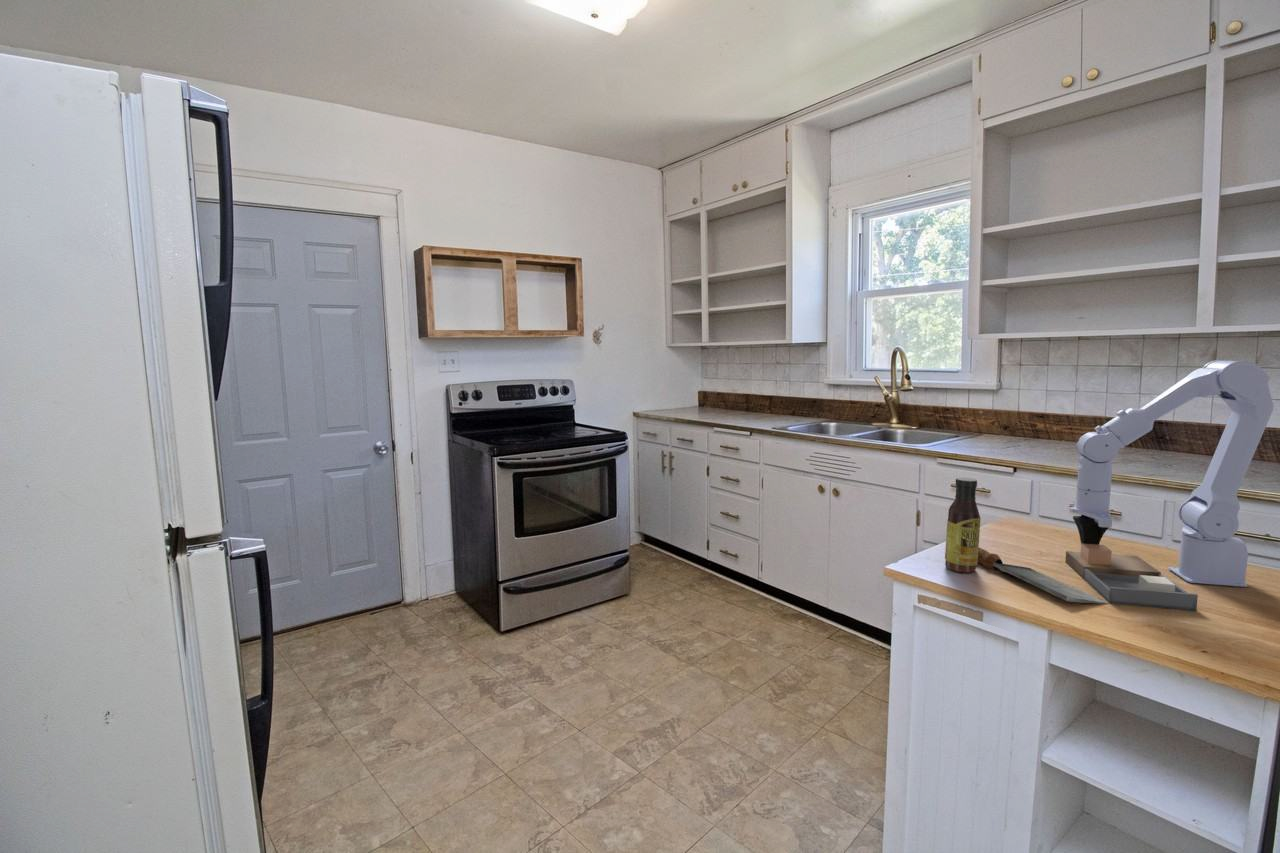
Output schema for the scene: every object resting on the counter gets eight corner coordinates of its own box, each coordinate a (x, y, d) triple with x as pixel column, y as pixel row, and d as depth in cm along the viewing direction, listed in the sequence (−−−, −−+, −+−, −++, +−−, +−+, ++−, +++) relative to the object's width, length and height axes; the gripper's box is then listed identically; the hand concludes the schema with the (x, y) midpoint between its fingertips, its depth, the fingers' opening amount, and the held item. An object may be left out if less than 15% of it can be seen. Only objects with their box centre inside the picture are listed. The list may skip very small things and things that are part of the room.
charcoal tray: (1160, 585, 119) (1162, 570, 119) (1196, 611, 108) (1197, 595, 107) (1083, 579, 123) (1084, 564, 123) (1109, 603, 111) (1111, 587, 111)
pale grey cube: (1175, 585, 111) (1173, 600, 111) (1164, 577, 114) (1163, 592, 115) (1148, 582, 112) (1147, 598, 112) (1139, 575, 116) (1138, 589, 116)
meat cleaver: (1118, 604, 112) (1120, 583, 112) (1066, 610, 110) (1067, 589, 110) (985, 548, 145) (986, 532, 144) (943, 552, 143) (943, 536, 143)
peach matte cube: (1102, 558, 128) (1103, 544, 127) (1110, 564, 124) (1111, 550, 123) (1080, 556, 129) (1081, 543, 128) (1087, 563, 125) (1088, 549, 125)
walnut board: (1136, 567, 129) (1136, 555, 129) (1159, 584, 120) (1161, 572, 119) (1065, 562, 133) (1066, 551, 133) (1083, 578, 123) (1083, 566, 123)
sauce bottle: (962, 576, 126) (966, 483, 124) (937, 566, 132) (941, 478, 130) (984, 571, 129) (989, 480, 126) (959, 562, 134) (963, 475, 132)
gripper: (1059, 480, 136) (1055, 539, 137) (1084, 496, 122) (1080, 560, 124) (1096, 482, 134) (1092, 541, 135) (1126, 497, 120) (1121, 563, 122)
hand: (1089, 550), depth 129 cm, fingers closed
